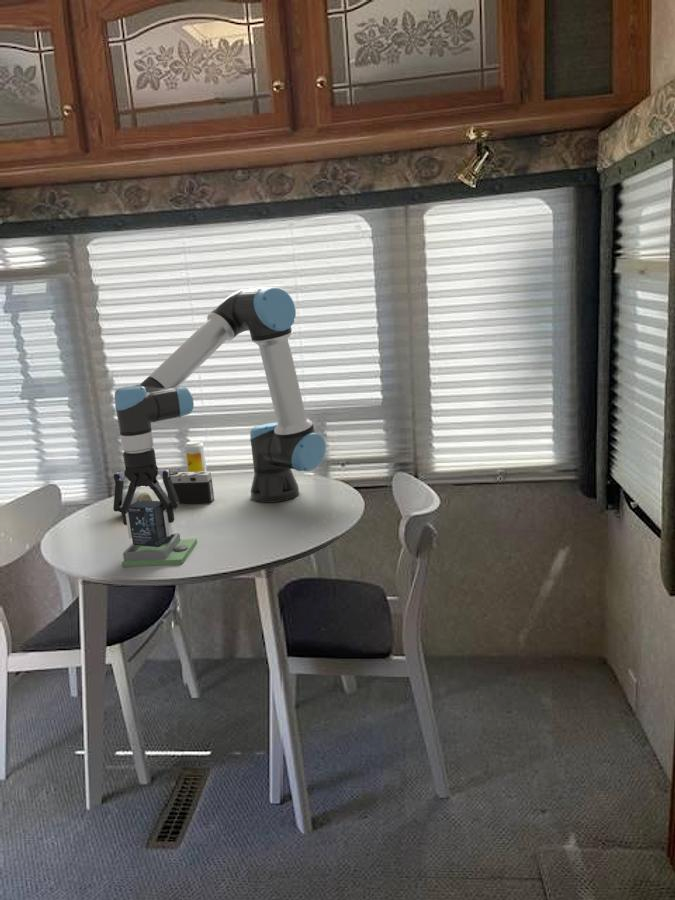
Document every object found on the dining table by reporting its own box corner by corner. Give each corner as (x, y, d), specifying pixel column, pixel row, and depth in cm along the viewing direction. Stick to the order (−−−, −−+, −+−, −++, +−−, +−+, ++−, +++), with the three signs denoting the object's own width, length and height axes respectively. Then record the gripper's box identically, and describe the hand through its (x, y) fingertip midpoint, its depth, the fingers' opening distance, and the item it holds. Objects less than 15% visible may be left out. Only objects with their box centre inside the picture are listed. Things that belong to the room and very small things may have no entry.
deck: (197, 542, 183) (195, 531, 182) (182, 564, 169) (180, 551, 169) (141, 545, 184) (140, 534, 183) (122, 566, 171) (121, 554, 170)
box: (132, 546, 175) (126, 506, 173) (146, 537, 180) (140, 499, 178) (158, 548, 172) (152, 507, 170) (171, 539, 177) (165, 500, 175)
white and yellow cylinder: (193, 482, 242) (188, 440, 238) (210, 481, 241) (205, 440, 237) (187, 487, 236) (182, 444, 232) (204, 487, 235) (199, 444, 231)
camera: (218, 496, 223) (215, 466, 221) (210, 504, 216) (206, 473, 213) (178, 497, 226) (174, 467, 224) (168, 505, 218) (163, 474, 216)
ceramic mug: (139, 519, 206) (135, 494, 205) (118, 517, 210) (114, 492, 208) (162, 508, 216) (159, 484, 214) (141, 506, 219) (138, 483, 217)
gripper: (185, 443, 173) (196, 528, 179) (101, 448, 175) (115, 532, 180) (177, 450, 166) (189, 538, 171) (89, 455, 168) (103, 543, 173)
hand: (151, 535), depth 176 cm, fingers closed on box, 9 cm apart
